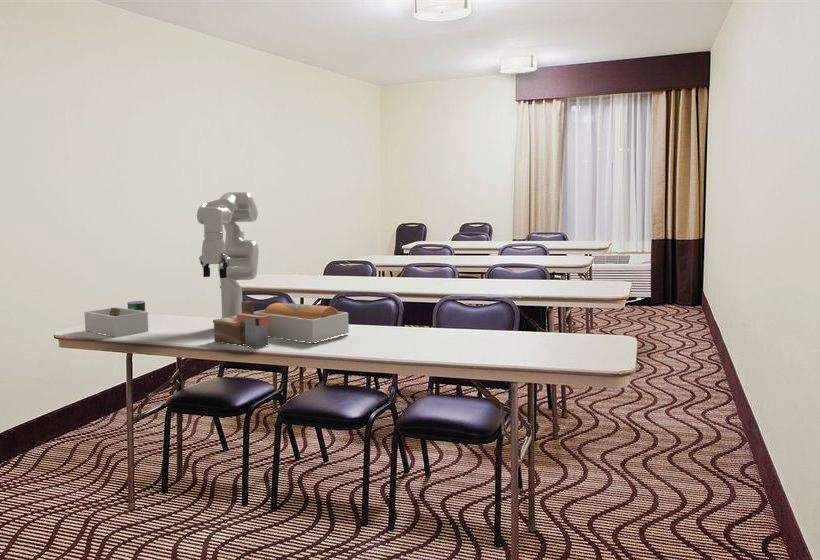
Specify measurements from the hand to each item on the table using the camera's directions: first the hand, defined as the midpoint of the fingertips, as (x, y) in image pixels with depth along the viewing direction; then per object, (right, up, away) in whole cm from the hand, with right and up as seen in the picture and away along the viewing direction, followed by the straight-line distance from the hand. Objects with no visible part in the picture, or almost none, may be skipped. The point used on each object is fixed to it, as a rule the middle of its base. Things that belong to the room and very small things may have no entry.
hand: (214, 277), depth 285 cm
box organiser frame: (+34, -25, +15) cm, 45 cm away
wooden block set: (-51, -25, +23) cm, 61 cm away
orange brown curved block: (+35, -26, +14) cm, 45 cm away
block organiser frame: (-51, -25, +22) cm, 61 cm away
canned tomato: (-48, -23, +38) cm, 66 cm away
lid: (+10, -19, +1) cm, 22 cm away
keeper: (+20, -28, -9) cm, 36 cm away
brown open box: (+10, -27, +2) cm, 29 cm away
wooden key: (+18, -19, -9) cm, 28 cm away
